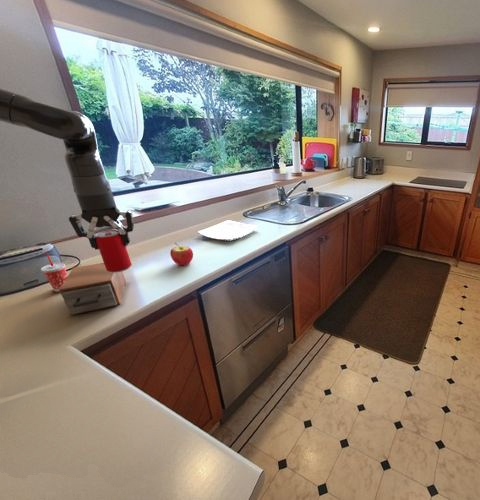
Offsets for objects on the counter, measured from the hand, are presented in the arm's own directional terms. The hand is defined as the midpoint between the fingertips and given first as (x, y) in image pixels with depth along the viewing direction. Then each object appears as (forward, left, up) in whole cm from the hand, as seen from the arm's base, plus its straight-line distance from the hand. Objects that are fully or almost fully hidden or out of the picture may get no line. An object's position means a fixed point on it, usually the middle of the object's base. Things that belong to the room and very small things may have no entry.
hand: (112, 246), depth 84 cm
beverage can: (0, 0, -8) cm, 8 cm away
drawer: (-10, +9, -22) cm, 26 cm away
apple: (+15, +29, -23) cm, 40 cm away
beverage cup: (-24, +26, -23) cm, 42 cm away
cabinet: (-11, +13, -23) cm, 28 cm away
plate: (+38, +58, -23) cm, 73 cm away
